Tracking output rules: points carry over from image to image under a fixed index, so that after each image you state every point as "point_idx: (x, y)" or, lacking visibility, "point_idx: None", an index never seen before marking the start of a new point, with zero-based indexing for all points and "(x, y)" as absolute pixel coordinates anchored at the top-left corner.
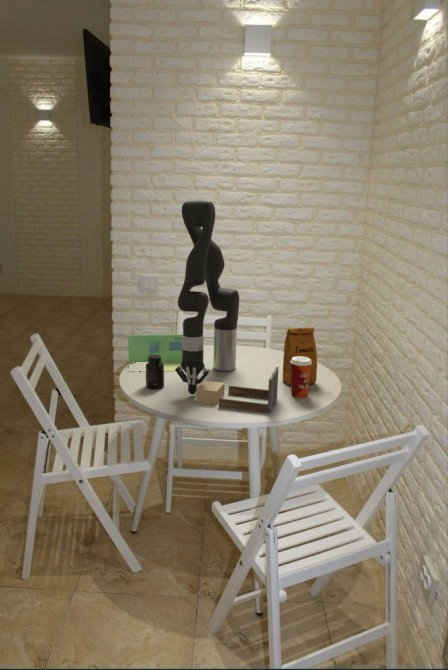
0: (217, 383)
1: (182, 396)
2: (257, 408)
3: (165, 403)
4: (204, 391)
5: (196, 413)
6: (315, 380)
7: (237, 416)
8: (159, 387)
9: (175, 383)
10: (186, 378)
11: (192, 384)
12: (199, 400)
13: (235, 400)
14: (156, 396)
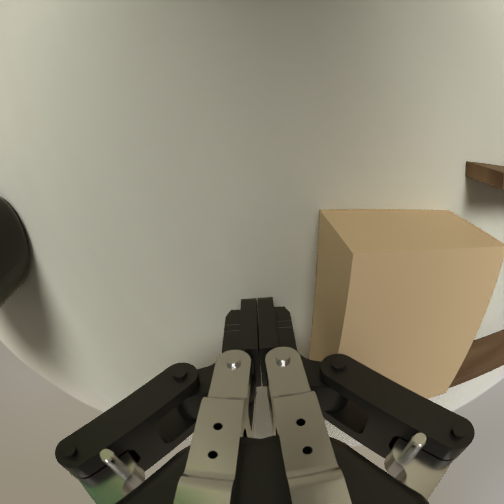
0: (467, 277)
1: (197, 323)
2: None
3: None
4: None
5: (340, 430)
6: None
7: (469, 384)
8: (25, 274)
9: (40, 122)
10: (197, 411)
11: (263, 376)
12: None
13: (495, 365)
14: (87, 356)
